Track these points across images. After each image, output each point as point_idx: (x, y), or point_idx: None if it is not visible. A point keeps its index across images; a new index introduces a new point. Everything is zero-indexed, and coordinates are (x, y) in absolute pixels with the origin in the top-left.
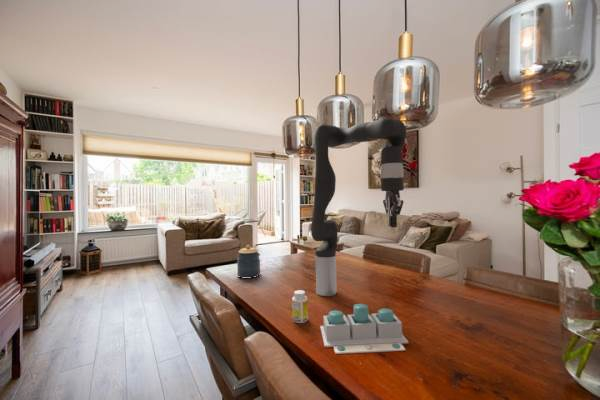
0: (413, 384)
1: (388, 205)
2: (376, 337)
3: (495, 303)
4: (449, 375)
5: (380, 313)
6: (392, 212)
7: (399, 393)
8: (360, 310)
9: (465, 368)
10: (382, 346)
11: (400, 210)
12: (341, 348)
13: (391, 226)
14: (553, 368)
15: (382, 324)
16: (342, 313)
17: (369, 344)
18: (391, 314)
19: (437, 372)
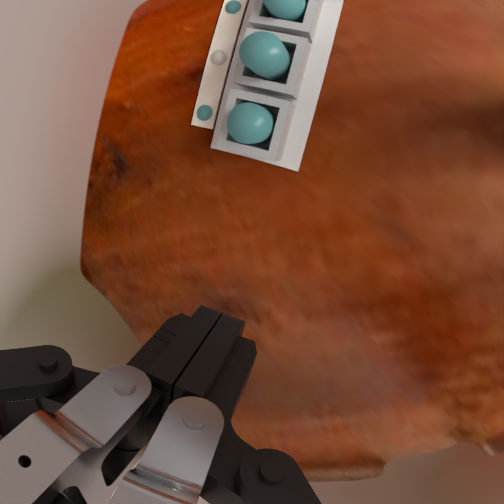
0: (122, 87)
1: (39, 485)
2: (246, 90)
3: (288, 430)
4: (122, 151)
5: (243, 103)
6: (33, 363)
7: (116, 61)
8: (242, 42)
9: (128, 188)
10: (212, 85)
11: (6, 407)
12: (232, 7)
13: (201, 312)
14: (112, 298)
15: (228, 98)
16: (276, 9)
17: (228, 63)
18: (227, 127)
19: (131, 139)
